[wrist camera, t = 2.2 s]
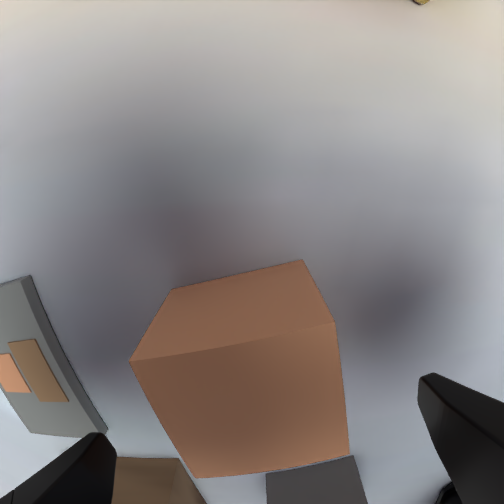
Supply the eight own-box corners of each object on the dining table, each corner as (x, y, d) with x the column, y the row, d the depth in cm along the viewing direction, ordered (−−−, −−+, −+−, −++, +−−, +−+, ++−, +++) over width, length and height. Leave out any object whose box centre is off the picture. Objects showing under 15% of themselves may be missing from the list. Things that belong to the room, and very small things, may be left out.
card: (108, 429, 14) (102, 440, 13) (35, 425, 14) (29, 433, 14) (30, 275, 12) (18, 282, 11) (-34, 295, 12) (-44, 301, 11)
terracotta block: (322, 367, 13) (349, 454, 8) (209, 389, 13) (195, 478, 8) (302, 258, 12) (335, 321, 7) (171, 288, 12) (128, 361, 7)
